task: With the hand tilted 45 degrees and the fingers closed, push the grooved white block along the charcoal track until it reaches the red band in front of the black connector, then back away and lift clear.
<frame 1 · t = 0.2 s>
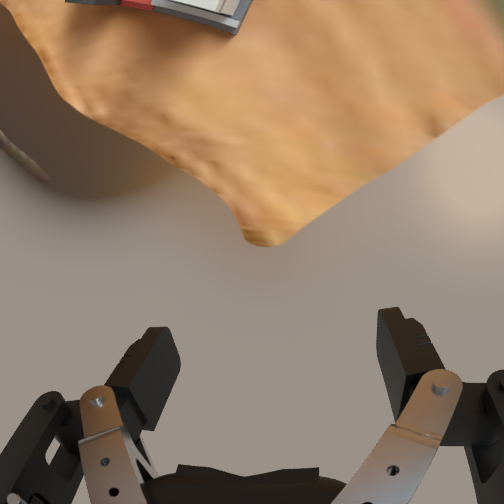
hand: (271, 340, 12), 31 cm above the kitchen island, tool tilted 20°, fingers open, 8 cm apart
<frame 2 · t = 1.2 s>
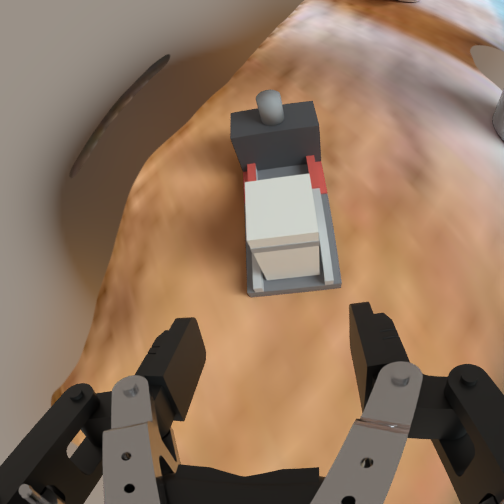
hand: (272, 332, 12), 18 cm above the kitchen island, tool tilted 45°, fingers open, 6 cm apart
decorative rooster: (397, 0, 53), on the kitchen island
grooved white block: (286, 232, 27), point 6 cm above the kitchen island, slide at 0.0 cm
cord track: (289, 225, 34), on the kitchen island
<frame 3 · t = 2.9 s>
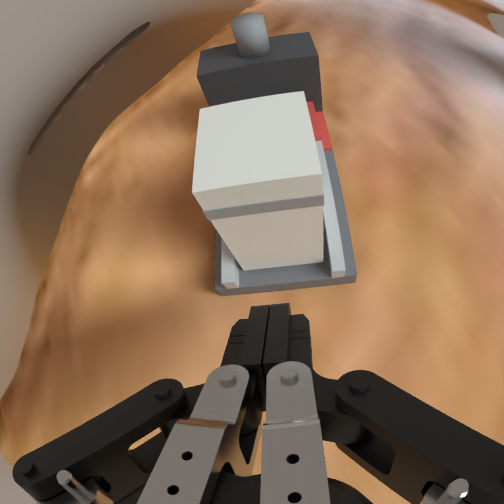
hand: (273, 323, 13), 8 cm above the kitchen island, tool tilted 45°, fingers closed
grooved white block: (269, 192, 17), point 6 cm above the kitchen island, slide at 0.0 cm
cord track: (279, 194, 24), on the kitchen island
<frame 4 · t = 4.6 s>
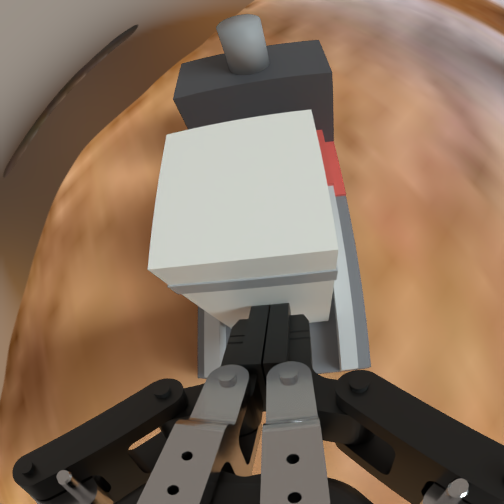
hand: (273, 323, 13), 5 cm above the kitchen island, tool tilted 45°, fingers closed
grooved white block: (262, 244, 13), point 6 cm above the kitchen island, slide at 1.6 cm, touching gripper
cord track: (278, 251, 20), on the kitchen island
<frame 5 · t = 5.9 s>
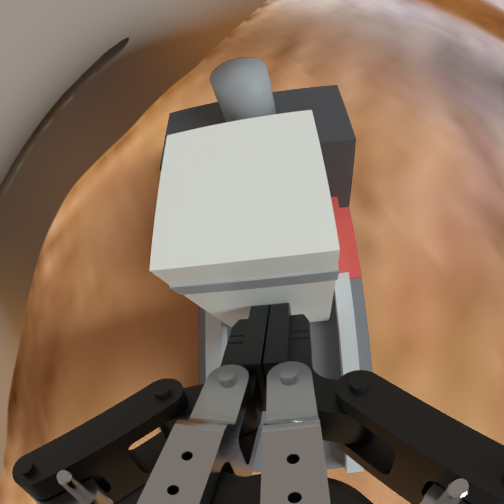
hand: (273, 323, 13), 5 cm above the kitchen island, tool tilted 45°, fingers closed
grooved white block: (263, 244, 13), point 6 cm above the kitchen island, slide at 6.9 cm, touching gripper
cord track: (284, 336, 18), on the kitchen island
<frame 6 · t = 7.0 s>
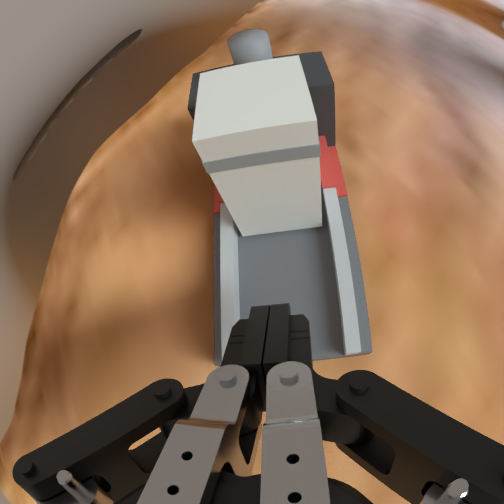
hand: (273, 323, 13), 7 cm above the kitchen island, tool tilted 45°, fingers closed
grooved white block: (267, 154, 17), point 6 cm above the kitchen island, slide at 6.9 cm
cord track: (285, 248, 21), on the kitchen island
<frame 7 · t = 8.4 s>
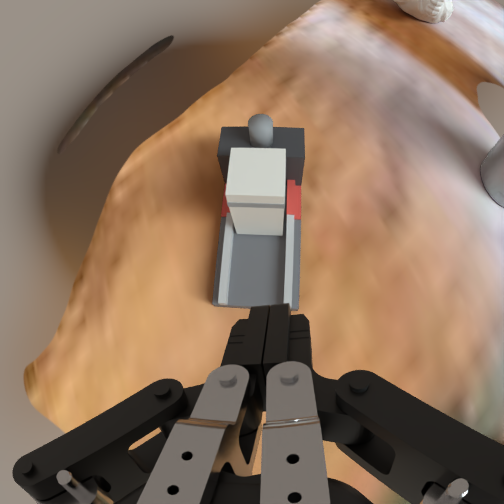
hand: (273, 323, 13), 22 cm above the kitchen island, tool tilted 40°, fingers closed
decorative rooster: (415, 18, 53), on the kitchen island
grooved white block: (259, 194, 32), point 6 cm above the kitchen island, slide at 6.9 cm
cord track: (260, 243, 37), on the kitchen island
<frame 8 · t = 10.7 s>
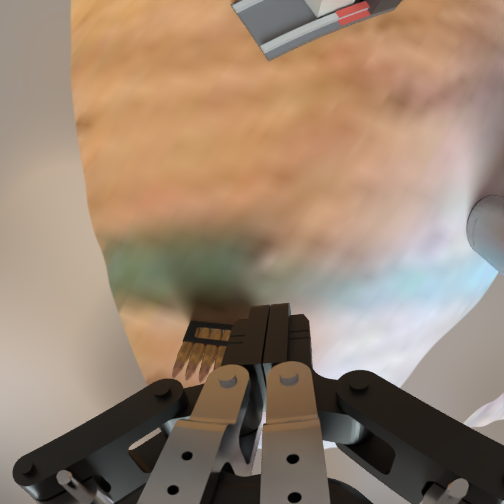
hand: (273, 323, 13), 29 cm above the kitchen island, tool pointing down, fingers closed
ammunition clip: (224, 328, 49), on the kitchen island
cord track: (303, 9, 30), on the kitchen island
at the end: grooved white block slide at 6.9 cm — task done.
